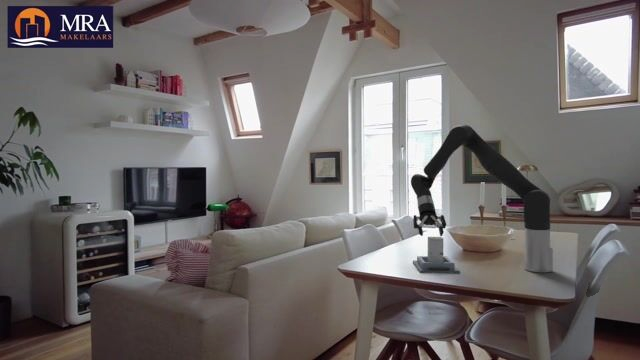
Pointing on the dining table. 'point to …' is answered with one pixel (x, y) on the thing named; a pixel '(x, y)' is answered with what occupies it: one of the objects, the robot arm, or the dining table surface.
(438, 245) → the skincare box
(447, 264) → the tray
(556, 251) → the dining table surface
